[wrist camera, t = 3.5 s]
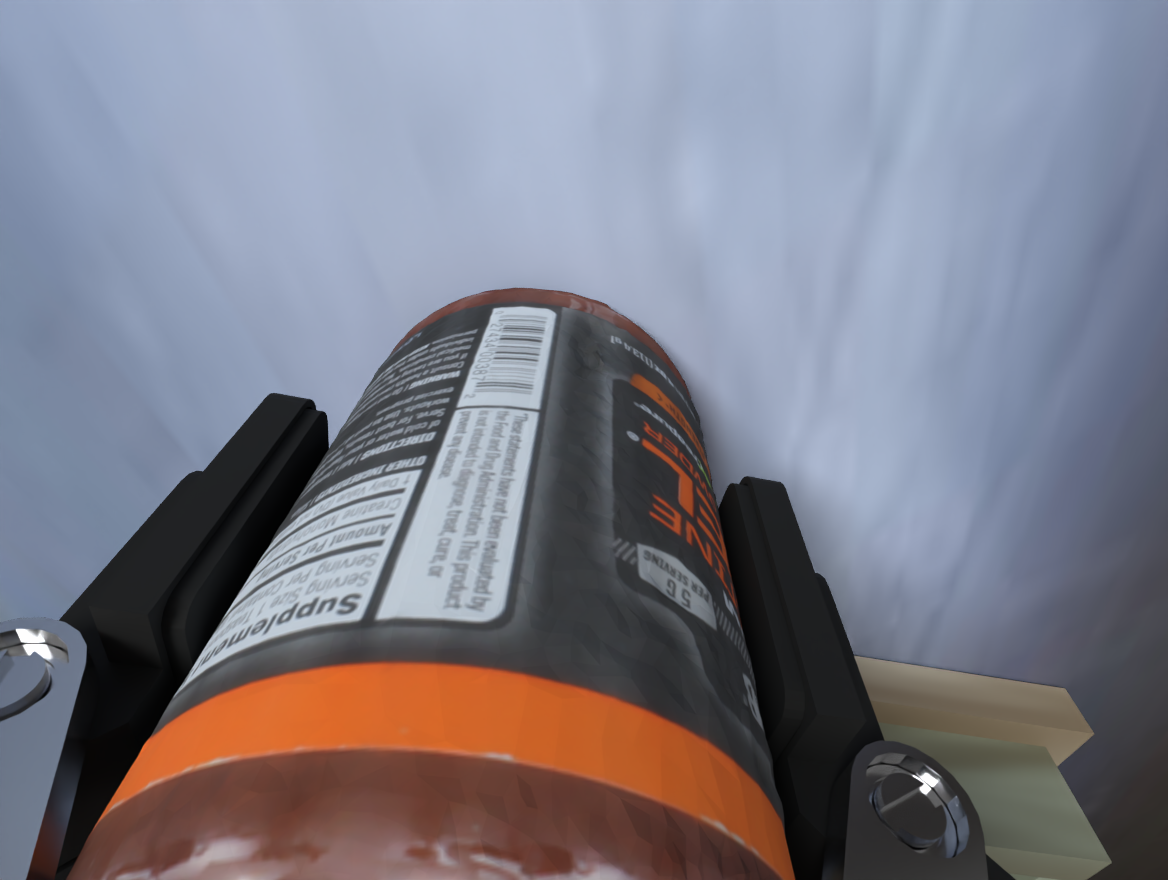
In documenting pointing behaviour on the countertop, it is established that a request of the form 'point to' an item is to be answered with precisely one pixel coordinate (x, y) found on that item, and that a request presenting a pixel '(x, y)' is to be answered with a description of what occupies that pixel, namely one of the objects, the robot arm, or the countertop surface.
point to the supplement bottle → (476, 639)
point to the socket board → (997, 759)
